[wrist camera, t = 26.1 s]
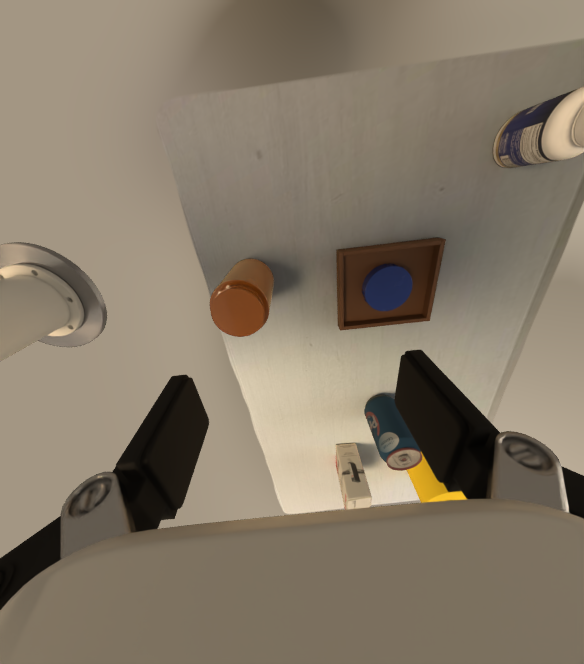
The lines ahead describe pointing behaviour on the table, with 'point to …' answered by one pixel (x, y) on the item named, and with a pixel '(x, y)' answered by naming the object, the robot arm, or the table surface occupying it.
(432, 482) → the yellow hollow cylinder
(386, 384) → the table surface
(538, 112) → the pill bottle
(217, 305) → the jar
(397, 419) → the soda can
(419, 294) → the tray
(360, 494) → the ink box
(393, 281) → the jar lid
